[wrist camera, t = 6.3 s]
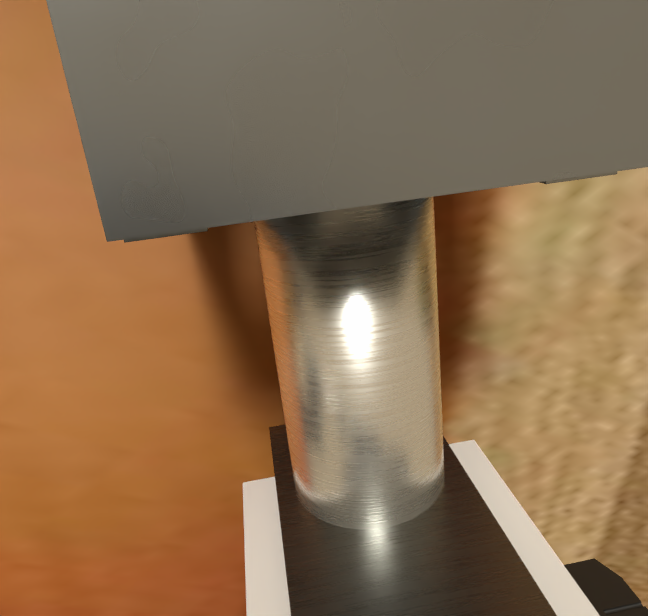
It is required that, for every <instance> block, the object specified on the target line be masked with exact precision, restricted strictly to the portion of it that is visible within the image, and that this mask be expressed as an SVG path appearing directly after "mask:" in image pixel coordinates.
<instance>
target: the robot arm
mask: <svg viewBox="0 0 648 616" xmlns="http://www.w3.org/2000/svg"><path fill="white" fill-rule="evenodd" d="M449 446H450V447H451V449H452V451H453V452H454V454H455V455H456V457H457V458H458V460H459V462H460V463H461V465H462V466H463V468H464V470H465V471H466V473H467V474H468V476H469V477H470V479H471V481H472V482H473V484H474V485H475V487H476V489H477V490H478V492H479V493H480V495H481V496H482V498H483V500H484V501H485V503H486V504H487V506H488V508H489V509H490V511H491V512H492V514H493V515H494V517H495V519H496V520H497V522H498V523H499V525H500V526H501V528H502V530H503V531H504V533H505V534H506V536H507V538H508V539H509V541H510V542H511V544H512V545H513V547H514V549H515V550H516V552H517V553H518V555H519V557H520V558H521V560H522V561H523V563H524V564H525V566H526V568H527V569H528V571H529V572H530V574H531V575H532V577H533V579H534V580H535V582H536V583H537V585H538V587H539V588H540V590H541V591H542V593H543V594H544V596H545V598H546V599H547V601H548V602H549V604H550V606H551V607H552V609H553V610H554V612H555V613H556V615H557V616H648V609H647V608H646V607H645V606H644V607H643V606H642V604H641V601H640V600H639V598H638V597H637V596H636V595H635V593H634V592H633V591H632V590H631V589H630V587H629V586H628V585H627V584H626V582H625V581H624V580H623V579H622V578H621V577H620V576H619V575H617V574H616V573H614V572H613V571H611V570H610V569H609V568H607V567H606V566H604V565H603V564H601V563H600V562H598V561H597V560H596V559H590V560H586V561H581V562H576V563H572V564H567V565H563V563H562V562H561V561H560V559H559V558H558V556H557V555H556V554H555V552H554V551H553V549H552V548H551V547H550V545H549V544H548V542H547V541H546V540H545V538H544V537H543V535H542V534H541V533H540V531H539V530H538V529H537V527H536V526H535V524H534V523H533V522H532V520H531V519H530V517H529V516H528V515H527V513H526V512H525V510H524V509H523V508H522V506H521V505H520V503H519V502H518V501H517V499H516V498H515V496H514V495H513V494H512V492H511V491H510V489H509V488H508V487H507V485H506V484H505V482H504V481H503V480H502V478H501V477H500V475H499V474H498V473H497V471H496V470H495V468H494V467H493V466H492V464H491V463H490V461H489V460H488V459H487V457H486V456H485V454H484V453H483V452H482V450H481V449H480V447H479V446H478V445H477V443H476V442H475V440H469V441H464V442H459V443H453V444H449ZM243 509H244V542H245V575H246V608H247V616H291V611H290V602H289V594H288V585H287V577H286V568H285V559H284V551H283V542H282V533H281V525H280V516H279V508H278V499H277V490H276V482H275V477H271V478H265V479H260V480H255V481H249V482H244V483H243Z"/></svg>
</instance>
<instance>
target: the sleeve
mask: <svg viewBox="0 0 648 616" xmlns="http://www.w3.org/2000/svg"><path fill="white" fill-rule="evenodd" d="M46 1H47V5H48V9H49V13H50V17H51V21H52V25H53V29H54V33H55V37H56V41H57V45H58V49H59V53H60V57H61V61H62V65H63V69H64V73H65V77H66V81H67V85H68V89H69V93H70V97H71V101H72V104H73V108H74V112H75V116H76V120H77V124H78V128H79V132H80V136H81V140H82V144H83V148H84V152H85V156H86V160H87V164H88V168H89V172H90V176H91V180H92V184H93V188H94V192H95V196H96V200H97V204H98V208H99V212H100V216H101V220H102V224H103V228H104V232H105V236H106V240H107V242H108V241H116V240H123V239H124V242H132V241H139V240H146V239H153V238H160V237H168V236H175V235H182V234H189V233H196V232H204V231H208V228H210V227H217V226H224V225H231V224H239V223H246V222H253V221H260V220H268V219H275V218H282V217H289V216H296V215H304V214H311V213H318V212H325V211H333V210H340V209H347V208H354V207H362V206H369V205H376V204H383V203H390V202H398V201H405V200H412V199H419V198H427V197H434V196H441V195H448V194H456V193H463V192H470V191H477V190H484V189H492V188H499V187H506V186H513V185H521V184H528V183H535V182H540V183H544V184H549V183H556V182H564V181H571V180H578V179H585V178H592V177H600V176H607V175H614V174H617V171H622V170H629V169H636V168H643V167H648V0H46Z"/></svg>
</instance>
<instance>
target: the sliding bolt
mask: <svg viewBox="0 0 648 616" xmlns="http://www.w3.org/2000/svg"><path fill="white" fill-rule="evenodd" d="M254 223H255V230H256V236H257V243H258V249H259V256H260V262H261V269H262V275H263V282H264V288H265V295H266V301H267V308H268V314H269V321H270V327H271V334H272V340H273V347H274V353H275V360H276V366H277V373H278V379H279V386H280V392H281V399H282V405H283V412H284V418H285V425H280V426H274V427H269V430H270V439H271V447H272V456H273V465H274V473H275V482H276V490H277V499H278V508H279V516H280V525H281V533H282V542H283V551H284V559H285V568H286V577H287V585H288V594H289V602H290V611H291V616H557V615H556V613H555V612H554V610H553V609H552V607H551V606H550V604H549V602H548V601H547V599H546V598H545V596H544V594H543V593H542V591H541V590H540V588H539V587H538V585H537V583H536V582H535V580H534V579H533V577H532V575H531V574H530V572H529V571H528V569H527V568H526V566H525V564H524V563H523V561H522V560H521V558H520V557H519V555H518V553H517V552H516V550H515V549H514V547H513V545H512V544H511V542H510V541H509V539H508V538H507V536H506V534H505V533H504V531H503V530H502V528H501V526H500V525H499V523H498V522H497V520H496V519H495V517H494V515H493V514H492V512H491V511H490V509H489V508H488V506H487V504H486V503H485V501H484V500H483V498H482V496H481V495H480V493H479V492H478V490H477V489H476V487H475V485H474V484H473V482H472V481H471V479H470V477H469V476H468V474H467V473H466V471H465V470H464V468H463V466H462V465H461V463H460V462H459V460H458V458H457V457H456V455H455V454H454V452H453V451H452V449H451V447H450V446H449V444H448V443H447V441H446V440H445V438H444V436H443V427H442V401H441V375H440V350H439V324H438V298H437V272H436V246H435V220H434V197H427V198H419V199H412V200H405V201H398V202H390V203H383V204H376V205H369V206H362V207H354V208H347V209H340V210H333V211H325V212H318V213H311V214H304V215H296V216H289V217H282V218H275V219H268V220H260V221H254Z"/></svg>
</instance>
